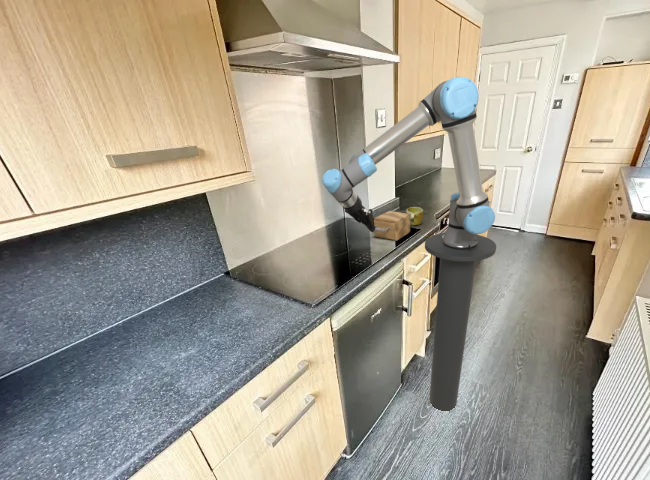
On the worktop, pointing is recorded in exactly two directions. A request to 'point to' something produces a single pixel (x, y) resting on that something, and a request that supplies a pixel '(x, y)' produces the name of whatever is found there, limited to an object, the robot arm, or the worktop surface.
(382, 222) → the drawer
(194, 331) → the worktop surface
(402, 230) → the cabinet
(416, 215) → the mug
